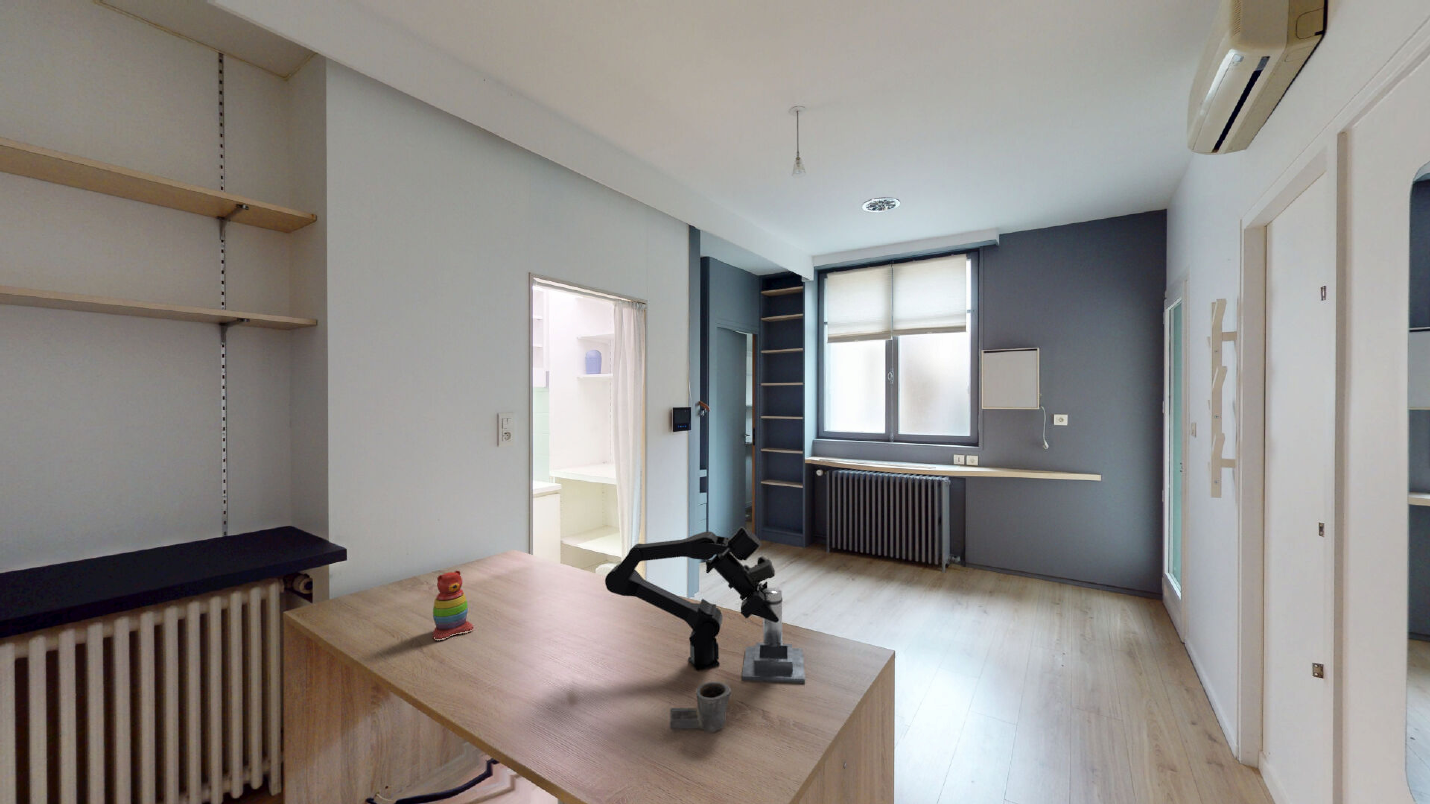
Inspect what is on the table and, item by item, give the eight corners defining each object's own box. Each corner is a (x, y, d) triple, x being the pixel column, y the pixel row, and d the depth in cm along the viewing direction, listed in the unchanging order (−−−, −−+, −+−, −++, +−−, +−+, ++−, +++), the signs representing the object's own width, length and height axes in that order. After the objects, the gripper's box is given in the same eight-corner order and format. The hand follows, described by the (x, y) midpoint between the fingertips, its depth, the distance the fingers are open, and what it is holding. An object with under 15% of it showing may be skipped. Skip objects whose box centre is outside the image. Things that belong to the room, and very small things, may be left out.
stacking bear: (436, 643, 150) (434, 581, 149) (427, 632, 157) (425, 573, 157) (475, 631, 157) (473, 572, 156) (465, 621, 164) (463, 564, 164)
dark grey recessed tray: (742, 680, 126) (741, 666, 126) (746, 650, 141) (746, 637, 141) (805, 683, 124) (804, 668, 124) (802, 652, 139) (802, 639, 139)
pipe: (670, 722, 111) (669, 684, 110) (730, 717, 112) (729, 680, 112) (670, 741, 104) (669, 701, 104) (733, 735, 106) (732, 696, 105)
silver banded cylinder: (768, 648, 129) (768, 596, 129) (759, 640, 134) (758, 589, 134) (786, 644, 131) (786, 593, 131) (776, 636, 136) (775, 586, 135)
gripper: (753, 562, 123) (801, 610, 122) (757, 540, 142) (799, 582, 140) (721, 594, 124) (768, 642, 123) (729, 568, 143) (770, 610, 142)
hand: (777, 616), depth 132 cm, fingers closed on silver banded cylinder, 5 cm apart
